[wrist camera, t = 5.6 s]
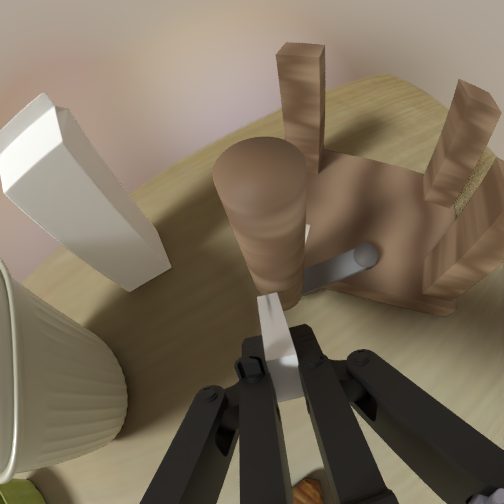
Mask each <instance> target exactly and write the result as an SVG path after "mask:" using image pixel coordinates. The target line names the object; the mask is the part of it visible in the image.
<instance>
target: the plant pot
mask: <svg viewBox="0 0 504 504" xmlns="http://www.w3.org/2000/svg"><path fill="white" fill-rule="evenodd" d="M0 504H46V503H45V500H44V498H43V496H42V494H41V493H40V492H39V491H38V490H37V489H36V488H35V485H34V484H33V483H32V482H31V481H29V480H26V479H13V478H12V479H11V480H9V481H8V482H7V483H5V484H0Z"/></svg>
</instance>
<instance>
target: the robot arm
mask: <svg viewBox="0 0 504 504" xmlns="http://www.w3.org/2000/svg"><path fill="white" fill-rule="evenodd" d="M257 302H258V309H259V316H260V323H261V331H262V335H260V336H255V337H251V338H246V339H245V340H244V342H243V344H242V357H241V358H239V359H238V360H237V361H236V363H235V366H234V367H235V369H236V372H237V375H238V377H239V382H238V383H236V384H235V385H233V386H231V387H229V388H226V389H224V390H223V388H221V387H220V386H216V385H212V386H207V387H204V388H203V389H201V390H200V391H199V392H198V393H197V394H196V396H195V398H194V400H193V402H192V404H191V406H190V408H189V410H188V412H187V414H186V416H185V418H184V420H183V422H182V424H181V426H180V427H179V429H178V431H177V433H176V435H175V437H174V439H173V441H172V443H171V445H170V447H169V449H168V451H167V453H166V455H165V456H164V458H163V460H162V462H161V464H160V466H159V468H158V470H157V472H156V474H155V476H154V477H153V479H152V481H151V483H150V485H149V487H148V489H147V491H146V492H145V494H144V496H143V498H142V500H141V502H140V504H216V503H217V500H218V497H219V494H220V492H221V489H222V486H223V483H224V480H225V477H226V474H227V471H228V468H229V465H230V462H231V459H232V456H233V453H234V449H235V446H236V443H237V440H238V437H239V451H240V504H294V499H293V493H292V486H291V480H290V473H289V467H288V461H287V454H286V448H285V441H284V435H283V429H282V422H281V416H280V410H279V407H278V403H277V402H282V401H286V400H291V399H295V398H299V397H303V396H305V399H306V405H307V410H308V413H309V415H310V418H311V422H312V425H313V429H314V432H315V436H316V439H317V443H318V446H319V450H320V454H321V457H322V461H323V464H324V468H325V471H326V475H327V479H328V482H329V486H330V489H331V493H332V497H333V500H334V504H399V503H398V500H397V498H396V496H395V494H394V493H393V492H392V490H390V489H388V488H387V487H386V485H385V483H384V481H383V478H382V476H381V474H380V471H379V469H378V467H377V464H376V462H375V460H374V457H373V455H372V453H371V451H370V448H369V446H368V444H367V441H366V439H365V437H364V435H363V432H362V430H361V428H360V426H359V424H358V421H357V419H356V417H355V415H354V412H353V410H352V408H351V406H352V407H353V408H354V409H355V410H356V411H357V413H358V414H359V415H360V416H361V417H362V418H363V419H364V420H365V421H366V422H367V423H368V424H369V425H370V427H371V428H372V429H373V430H374V431H375V432H376V433H377V434H378V435H379V436H380V437H381V438H382V439H383V440H384V441H385V442H386V443H387V444H388V446H389V447H390V448H391V449H392V450H393V451H394V452H395V453H396V454H397V455H398V456H399V457H400V458H401V459H402V460H403V461H404V462H405V463H406V464H407V465H408V466H409V467H410V468H411V469H412V470H413V471H414V472H415V473H416V474H417V475H418V476H419V477H420V478H421V479H422V480H423V481H424V482H425V483H426V484H427V485H428V486H429V487H430V488H431V489H432V490H433V491H434V492H435V493H436V494H437V495H438V496H439V497H440V498H441V499H442V500H443V501H445V502H446V503H447V504H504V450H502V449H501V448H500V447H498V446H497V445H496V444H494V443H493V442H492V441H490V440H489V439H488V438H486V437H485V436H484V435H482V434H481V433H480V432H478V431H477V430H476V429H474V428H473V427H472V426H470V425H469V424H468V423H466V422H465V421H464V420H462V419H461V418H460V417H458V416H457V415H456V414H454V413H453V412H452V411H450V410H449V409H448V408H446V407H445V406H444V405H442V404H441V403H440V402H438V401H437V400H436V399H434V398H433V397H432V396H430V395H429V394H428V393H427V392H425V391H424V390H423V389H421V388H420V387H419V386H417V385H416V384H415V383H413V382H412V381H411V380H409V379H408V378H407V377H405V376H404V375H403V374H402V373H400V372H399V371H398V370H396V369H395V368H394V367H392V366H391V365H390V364H388V363H387V362H386V361H385V360H383V359H382V358H381V357H379V356H378V355H377V354H375V353H374V352H372V351H370V350H366V349H361V350H357V351H354V352H352V353H351V354H349V356H348V357H347V360H331V359H328V357H327V356H326V355H323V353H322V350H321V348H320V346H319V344H318V342H317V339H316V337H315V335H314V333H313V331H312V328H311V327H309V326H308V325H306V324H302V325H299V326H295V327H291V328H288V325H287V322H286V319H285V316H284V313H283V310H282V307H281V303H280V300H279V297H278V294H277V292H276V293H272V294H267V295H263V296H259V297H257ZM350 405H351V406H350Z"/></svg>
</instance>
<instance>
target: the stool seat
mask: <svg viewBox="0 0 504 504" xmlns="http://www.w3.org/2000/svg"><path fill="white" fill-rule="evenodd" d="M276 60H277V68H278V76H279V84H280V93H281V102H282V112H283V122H284V132H285V141H288V142H290V143H292V144H293V145H295V146H296V147H297V148H298V149H299V150H300V151H301V152H302V153H303V155H304V157H305V160H306V165H307V183H306V233H305V258H304V269H305V268H308V267H310V266H313V265H315V264H318V263H320V262H323V261H326V260H328V259H331V258H333V257H336V256H338V255H341V254H343V253H346V252H348V251H351V250H353V249H355V248H356V246H357V245H359V244H360V243H369V244H372V245H373V246H374V247H375V248H376V249H377V252H378V259H377V261H376V264H375V266H373V267H372V268H371V269H369V270H364V271H362V272H360V273H357V274H355V275H353V276H350V277H348V278H346V279H343V280H341V281H338V282H336V283H334V284H331V285H329V286H326V287H324V288H326V289H330V290H333V291H337V292H341V293H345V294H350V295H354V296H358V297H362V298H366V299H370V300H374V301H378V302H382V303H386V304H391V305H395V306H399V307H403V308H407V309H412V310H416V311H420V312H424V313H429V314H433V315H437V316H442V317H446V316H447V315H449V314H451V313H453V312H454V311H456V307H457V297H458V296H460V295H461V294H462V293H464V292H465V291H467V290H468V289H469V288H471V287H472V286H473V285H475V284H476V283H477V282H479V281H480V280H481V279H483V278H484V277H485V276H487V275H488V274H489V273H490V272H492V271H493V270H494V269H495V268H497V267H498V266H499V265H500V264H501V263H503V262H504V161H503V160H501V159H499V158H497V157H496V159H495V161H494V163H493V164H492V166H491V168H490V169H489V171H488V173H487V174H486V176H485V178H484V179H483V181H482V182H481V184H480V186H479V187H478V189H477V190H476V192H475V193H474V195H473V196H472V198H471V199H470V201H469V202H468V204H467V205H466V206H465V208H464V209H463V211H462V212H461V214H460V215H459V216H458V218H457V219H456V217H455V207H454V201H455V200H456V198H457V196H458V195H459V193H460V192H461V190H462V188H463V187H464V185H465V183H466V182H467V180H468V178H469V177H470V175H471V173H472V171H473V170H474V168H475V166H476V164H477V162H478V161H479V159H480V157H481V155H482V153H483V151H484V149H485V147H486V145H487V143H488V141H489V139H490V137H491V135H492V133H493V131H494V128H495V127H496V124H497V122H498V120H499V118H500V115H501V111H500V109H499V108H498V106H497V104H496V103H495V101H494V99H493V98H492V96H491V95H490V93H488V92H486V91H484V90H482V89H480V88H478V87H476V86H474V85H471V84H469V83H467V82H465V81H462V80H460V79H459V80H458V84H457V87H456V90H455V94H454V97H453V100H452V103H451V107H450V110H449V113H448V115H447V118H446V121H445V124H444V127H443V130H442V132H441V135H440V138H439V140H438V143H437V145H436V148H435V150H434V153H433V155H432V158H431V160H430V162H429V165H428V167H427V169H426V171H425V174H421V173H418V172H415V171H411V170H408V169H405V168H401V167H397V166H394V165H390V164H386V163H382V162H378V161H374V160H370V159H366V158H362V157H357V156H353V155H348V154H343V153H338V152H333V151H328V150H324V128H325V45H318V44H306V43H288V42H287V43H285V44H284V45H283V47H282V48H281V49H280V50H279V51H278V53H277V54H276Z"/></svg>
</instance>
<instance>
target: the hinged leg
mask: <svg viewBox="0 0 504 504" xmlns="http://www.w3.org/2000/svg"><path fill="white" fill-rule="evenodd" d="M212 174H213V181H214V184H215V187H216V189H217V192H218V194H219V197H220V199H221V202H222V204H223V207H224V209H225V212H226V214H227V217H228V219H229V222H230V224H231V227H232V229H233V232H234V234H235V237H236V239H237V242H238V244H239V247H240V249H241V251H242V254H243V256H244V259H245V261H246V264H247V266H248V269H249V271H250V274H251V276H252V278H253V281H254V283H255V286H256V288H257V291H258V293H259V296H263V295H267V294H272V293H276V292H277V294H278V297H279V300H280V303H281V307H282V310H283V311H284V310H288V309H291V308H292V307H294V306H295V305H296V304H297V303H298V302H299V301H300V299H301V297H302V296H304V295H306V294H309V293H312V292H314V291H317V290H319V289H321V288H324V287H326V286H329V285H331V284H334V283H336V282H338V281H341V280H343V279H346V278H348V277H350V276H353V275H355V274H357V273H360V272H362V271H364V270H369V269H371V268H372V267H373V266H375V264H376V261H377V259H378V252H377V249H376V248H375V247H374V246H373V245H372V244H369V243H360V244H359V245H357V246H356V248H355V249H353V250H351V251H348V252H346V253H343V254H341V255H338V256H336V257H333V258H331V259H328V260H326V261H323V262H320V263H318V264H315V265H313V266H310V267H308V268H305V269H304V258H305V233H306V183H307V165H306V160H305V157H304V155H303V153H302V152H301V151H300V150H299V149H298V148H297V147H296V146H295V145H293V144H292V143H290V142H288V141H285V140H283V139H279V138H274V137H255V138H250V139H246V140H243V141H241V142H238V143H236V144H234V145H233V146H231V147H229V148H228V149H227V150H225V151H224V152H223V153H222V154H221V155H220V157H219V158H218V159H217V161H216V163H215V165H214V168H213V173H212Z"/></svg>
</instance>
